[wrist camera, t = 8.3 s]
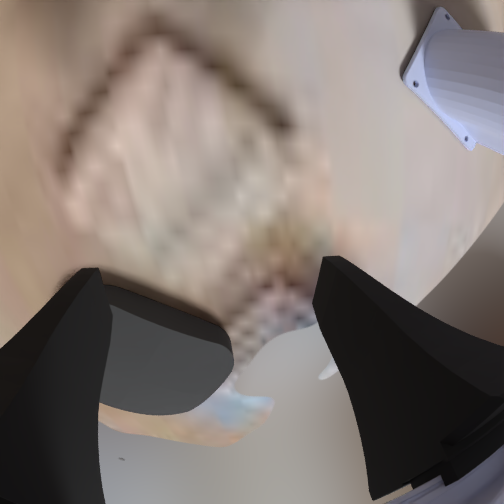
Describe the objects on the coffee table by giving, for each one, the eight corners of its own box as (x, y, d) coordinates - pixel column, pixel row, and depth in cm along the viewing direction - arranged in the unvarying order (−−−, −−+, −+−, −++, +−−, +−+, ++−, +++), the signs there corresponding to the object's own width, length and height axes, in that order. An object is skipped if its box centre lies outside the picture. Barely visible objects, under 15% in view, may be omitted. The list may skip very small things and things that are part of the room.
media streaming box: (83, 265, 19) (71, 292, 16) (248, 331, 25) (254, 358, 23) (56, 364, 24) (50, 387, 22) (178, 403, 30) (179, 425, 28)
